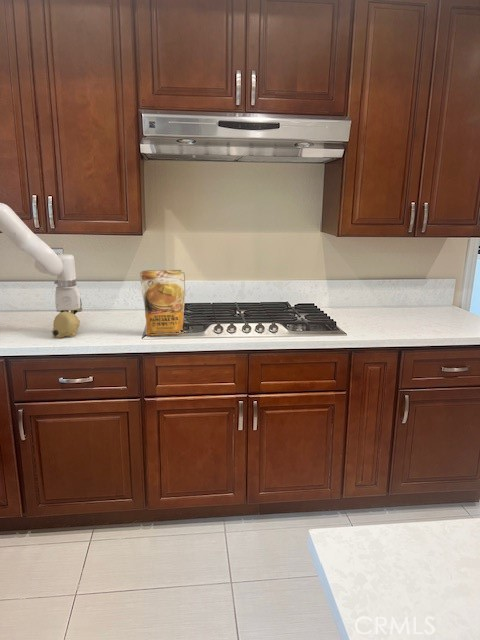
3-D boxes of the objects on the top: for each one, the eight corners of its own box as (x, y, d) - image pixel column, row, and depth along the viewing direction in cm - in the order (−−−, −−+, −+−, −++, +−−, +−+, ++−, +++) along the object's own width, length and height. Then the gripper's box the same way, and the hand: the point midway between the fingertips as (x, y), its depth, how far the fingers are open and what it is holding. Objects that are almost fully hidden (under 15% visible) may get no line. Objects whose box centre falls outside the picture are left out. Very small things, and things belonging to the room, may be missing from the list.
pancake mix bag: (142, 332, 205) (139, 269, 198) (185, 330, 209) (184, 268, 201) (142, 337, 199) (139, 272, 191) (187, 335, 202) (186, 271, 195)
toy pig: (67, 340, 203) (46, 326, 199) (85, 319, 203) (64, 304, 199) (66, 347, 194) (43, 332, 190) (84, 325, 194) (62, 309, 190)
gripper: (46, 285, 195) (50, 327, 199) (83, 285, 196) (86, 326, 201) (51, 281, 202) (55, 322, 207) (87, 281, 203) (90, 322, 208)
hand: (70, 324), depth 204 cm, fingers closed
